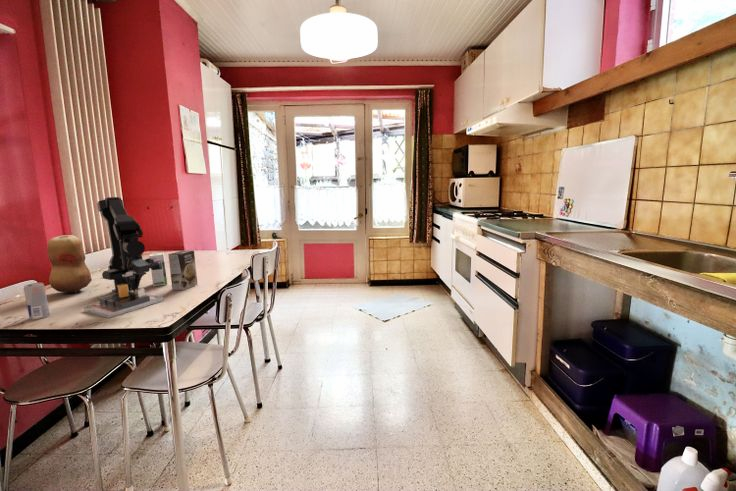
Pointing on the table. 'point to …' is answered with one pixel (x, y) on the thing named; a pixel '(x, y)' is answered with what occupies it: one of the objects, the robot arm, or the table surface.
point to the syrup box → (159, 270)
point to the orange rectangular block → (123, 290)
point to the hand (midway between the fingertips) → (135, 291)
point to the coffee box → (182, 270)
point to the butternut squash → (67, 264)
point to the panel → (111, 314)
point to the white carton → (36, 301)
